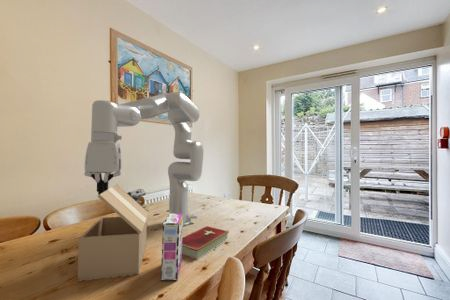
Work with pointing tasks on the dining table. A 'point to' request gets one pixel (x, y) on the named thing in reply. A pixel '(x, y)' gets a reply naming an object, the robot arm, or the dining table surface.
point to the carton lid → (125, 207)
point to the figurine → (137, 195)
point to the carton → (110, 249)
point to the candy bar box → (172, 246)
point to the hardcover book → (202, 241)
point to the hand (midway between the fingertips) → (102, 193)
